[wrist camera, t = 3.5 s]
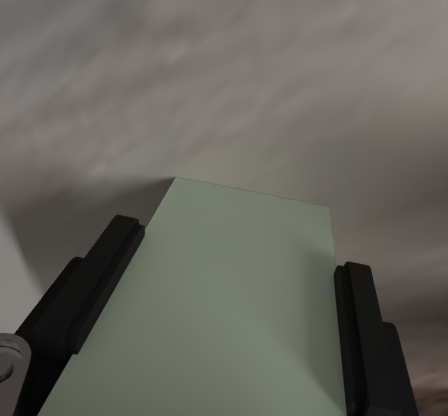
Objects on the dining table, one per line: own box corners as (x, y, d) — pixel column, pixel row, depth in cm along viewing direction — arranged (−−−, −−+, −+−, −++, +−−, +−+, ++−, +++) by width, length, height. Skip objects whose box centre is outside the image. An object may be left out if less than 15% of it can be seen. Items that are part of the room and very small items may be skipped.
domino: (175, 176, 13) (-39, 547, 5) (329, 206, 13) (377, 658, 5) (171, 227, 15) (-10, 602, 6) (313, 255, 14) (330, 697, 6)
